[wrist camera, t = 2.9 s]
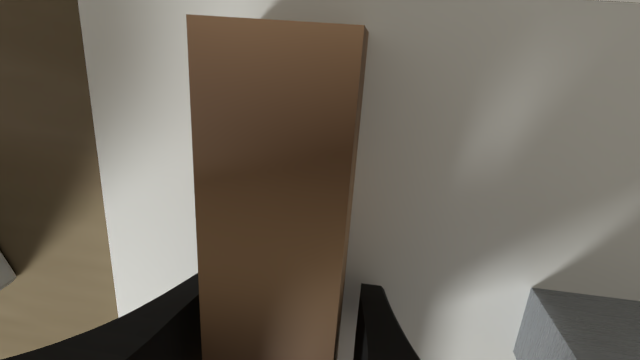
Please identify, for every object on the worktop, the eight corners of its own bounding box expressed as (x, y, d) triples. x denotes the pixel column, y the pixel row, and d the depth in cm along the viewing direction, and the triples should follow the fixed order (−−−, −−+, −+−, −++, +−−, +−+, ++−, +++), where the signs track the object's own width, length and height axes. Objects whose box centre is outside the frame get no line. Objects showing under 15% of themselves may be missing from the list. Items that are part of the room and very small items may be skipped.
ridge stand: (1078, 31, 9) (1837, 16, 4) (747, 538, 15) (915, 762, 10) (98, -21, 12) (-91, -65, 7) (149, 430, 18) (65, 571, 13)
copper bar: (326, 469, 15) (310, 607, 12) (251, 456, 16) (212, 585, 12) (368, 32, 10) (364, 24, 6) (254, 24, 10) (185, 14, 7)
